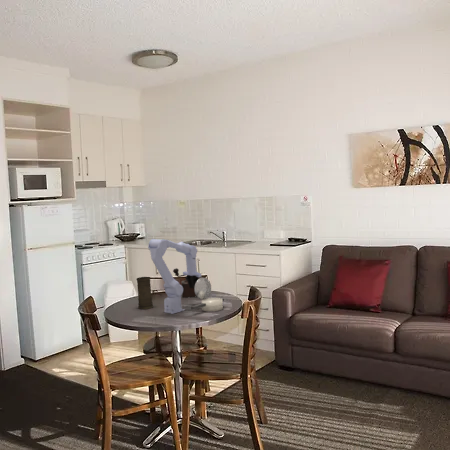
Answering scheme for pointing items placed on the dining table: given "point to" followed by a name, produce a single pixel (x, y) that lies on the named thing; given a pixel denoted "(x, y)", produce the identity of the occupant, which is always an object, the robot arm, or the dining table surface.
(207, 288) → the lid
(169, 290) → the robot arm
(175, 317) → the dining table surface
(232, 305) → the dining table surface
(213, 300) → the pot
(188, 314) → the dining table surface
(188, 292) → the manual coffee grinder
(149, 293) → the container
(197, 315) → the dining table surface
